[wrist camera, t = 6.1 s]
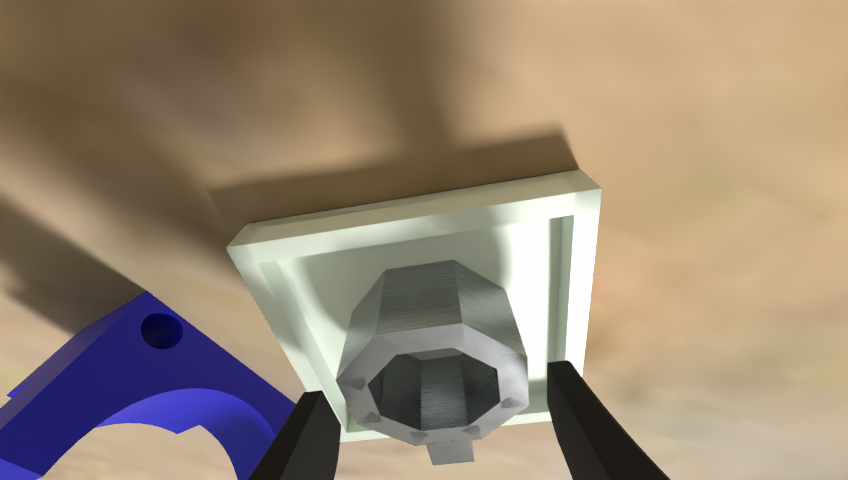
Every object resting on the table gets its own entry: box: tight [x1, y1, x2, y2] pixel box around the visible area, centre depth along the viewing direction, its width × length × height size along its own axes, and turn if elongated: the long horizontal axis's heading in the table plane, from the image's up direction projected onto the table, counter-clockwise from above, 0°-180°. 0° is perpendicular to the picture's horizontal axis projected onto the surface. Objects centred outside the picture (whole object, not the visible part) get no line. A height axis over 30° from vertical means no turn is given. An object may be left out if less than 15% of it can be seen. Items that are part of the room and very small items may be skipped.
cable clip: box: [0, 291, 296, 480], centre depth 14 cm, size 12×4×6 cm, turn 30°
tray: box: [226, 169, 602, 442], centre depth 13 cm, size 11×11×2 cm
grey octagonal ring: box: [335, 260, 529, 465], centre depth 12 cm, size 6×7×3 cm
